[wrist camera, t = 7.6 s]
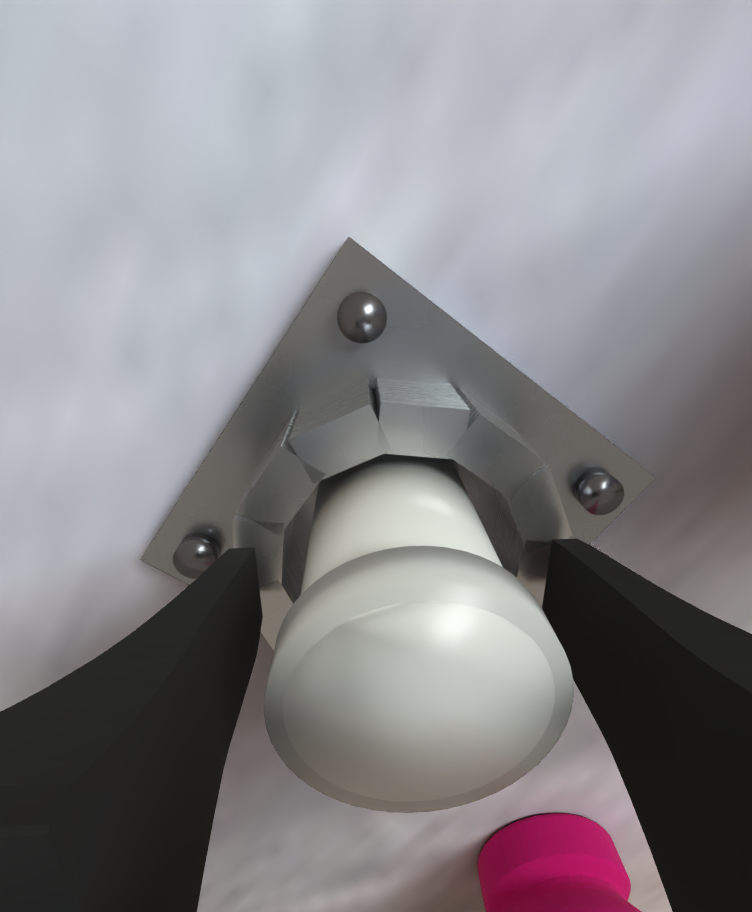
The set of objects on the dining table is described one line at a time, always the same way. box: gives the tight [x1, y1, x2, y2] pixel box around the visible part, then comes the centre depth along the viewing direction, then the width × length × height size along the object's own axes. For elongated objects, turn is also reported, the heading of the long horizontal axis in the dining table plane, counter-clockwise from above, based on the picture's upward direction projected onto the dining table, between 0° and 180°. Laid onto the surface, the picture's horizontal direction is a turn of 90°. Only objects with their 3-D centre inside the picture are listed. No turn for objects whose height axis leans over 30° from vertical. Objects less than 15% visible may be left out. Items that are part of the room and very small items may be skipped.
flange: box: [140, 237, 656, 651], centre depth 14 cm, size 11×11×3 cm
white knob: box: [264, 454, 573, 813], centre depth 11 cm, size 5×5×7 cm
